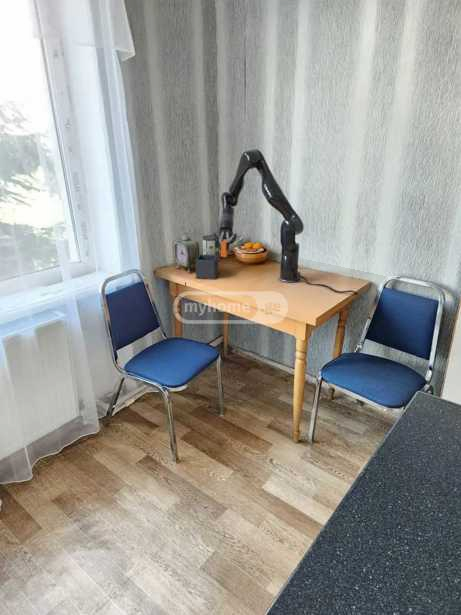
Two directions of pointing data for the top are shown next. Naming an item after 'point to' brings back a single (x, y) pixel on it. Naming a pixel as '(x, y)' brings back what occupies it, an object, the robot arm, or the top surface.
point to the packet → (224, 249)
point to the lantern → (210, 245)
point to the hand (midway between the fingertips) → (223, 249)
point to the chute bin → (206, 266)
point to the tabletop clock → (185, 251)
